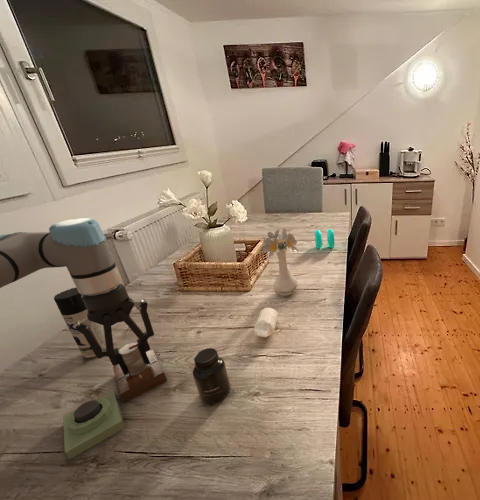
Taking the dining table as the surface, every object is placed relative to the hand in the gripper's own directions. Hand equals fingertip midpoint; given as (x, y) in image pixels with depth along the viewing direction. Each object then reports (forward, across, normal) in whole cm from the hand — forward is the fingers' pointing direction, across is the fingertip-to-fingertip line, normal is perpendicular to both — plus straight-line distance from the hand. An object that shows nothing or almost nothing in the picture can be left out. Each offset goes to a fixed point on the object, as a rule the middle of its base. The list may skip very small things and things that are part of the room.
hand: (136, 366), depth 72 cm
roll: (+4, -32, +8) cm, 33 cm away
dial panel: (+4, 0, 0) cm, 4 cm away
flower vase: (+4, -50, -9) cm, 51 cm away
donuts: (+4, -90, -32) cm, 96 cm away
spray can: (+4, +7, -22) cm, 24 cm away
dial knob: (+1, 0, 0) cm, 1 cm away
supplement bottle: (+4, -12, +19) cm, 23 cm away
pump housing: (+4, +10, +8) cm, 13 cm away
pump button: (+1, +10, +8) cm, 13 cm away
